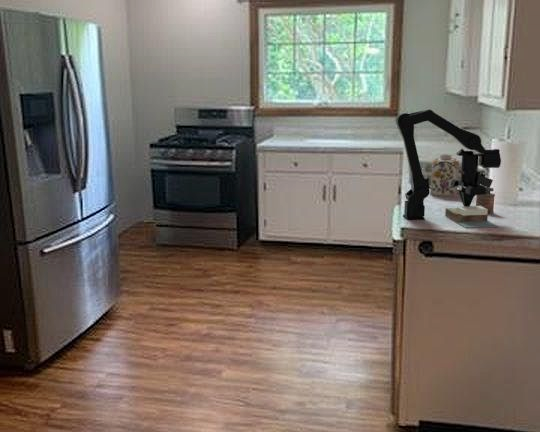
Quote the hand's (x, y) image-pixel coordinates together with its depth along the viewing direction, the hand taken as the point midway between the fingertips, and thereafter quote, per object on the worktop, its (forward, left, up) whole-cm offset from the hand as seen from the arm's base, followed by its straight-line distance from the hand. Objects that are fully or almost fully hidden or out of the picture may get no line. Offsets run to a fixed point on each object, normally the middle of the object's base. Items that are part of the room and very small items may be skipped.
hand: (466, 209), depth 218 cm
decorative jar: (+10, +49, -4) cm, 50 cm away
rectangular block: (0, -4, 0) cm, 4 cm away
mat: (0, -9, -4) cm, 10 cm away
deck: (0, 0, -4) cm, 4 cm away
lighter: (+12, +11, -4) cm, 17 cm away
